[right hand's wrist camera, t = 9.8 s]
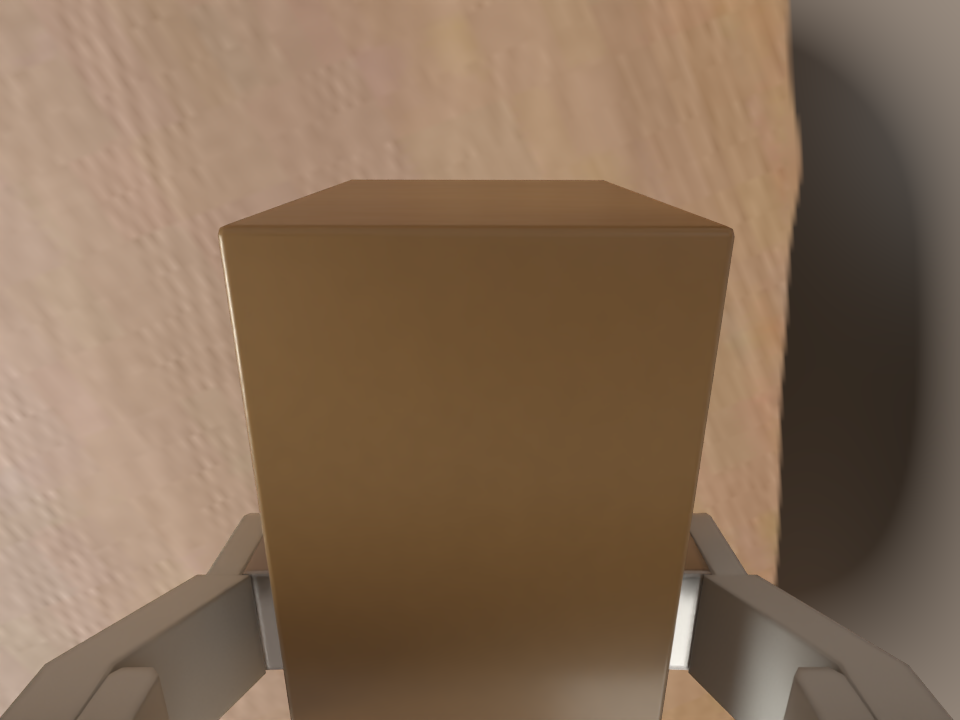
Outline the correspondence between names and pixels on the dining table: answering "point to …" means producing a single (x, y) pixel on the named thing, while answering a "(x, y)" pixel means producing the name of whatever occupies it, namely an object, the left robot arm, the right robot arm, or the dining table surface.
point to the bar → (476, 440)
